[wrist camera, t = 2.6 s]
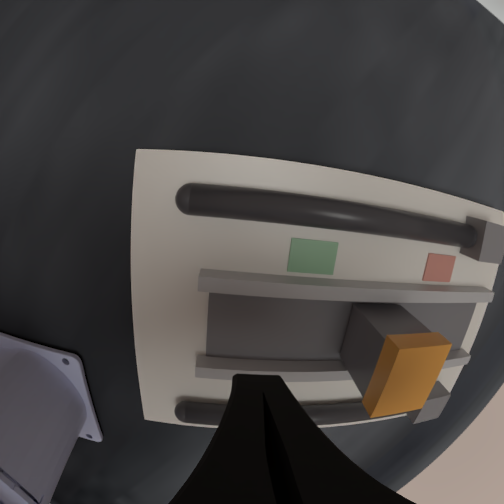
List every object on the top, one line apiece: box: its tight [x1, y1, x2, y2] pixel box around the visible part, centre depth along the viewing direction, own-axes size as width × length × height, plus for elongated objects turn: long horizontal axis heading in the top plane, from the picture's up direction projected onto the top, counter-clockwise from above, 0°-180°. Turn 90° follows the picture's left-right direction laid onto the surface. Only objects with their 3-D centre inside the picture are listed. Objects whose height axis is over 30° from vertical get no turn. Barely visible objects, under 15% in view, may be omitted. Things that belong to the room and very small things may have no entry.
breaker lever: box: [340, 304, 452, 418], centre depth 11 cm, size 3×3×4 cm
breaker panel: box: [131, 149, 504, 428], centre depth 13 cm, size 20×14×3 cm
